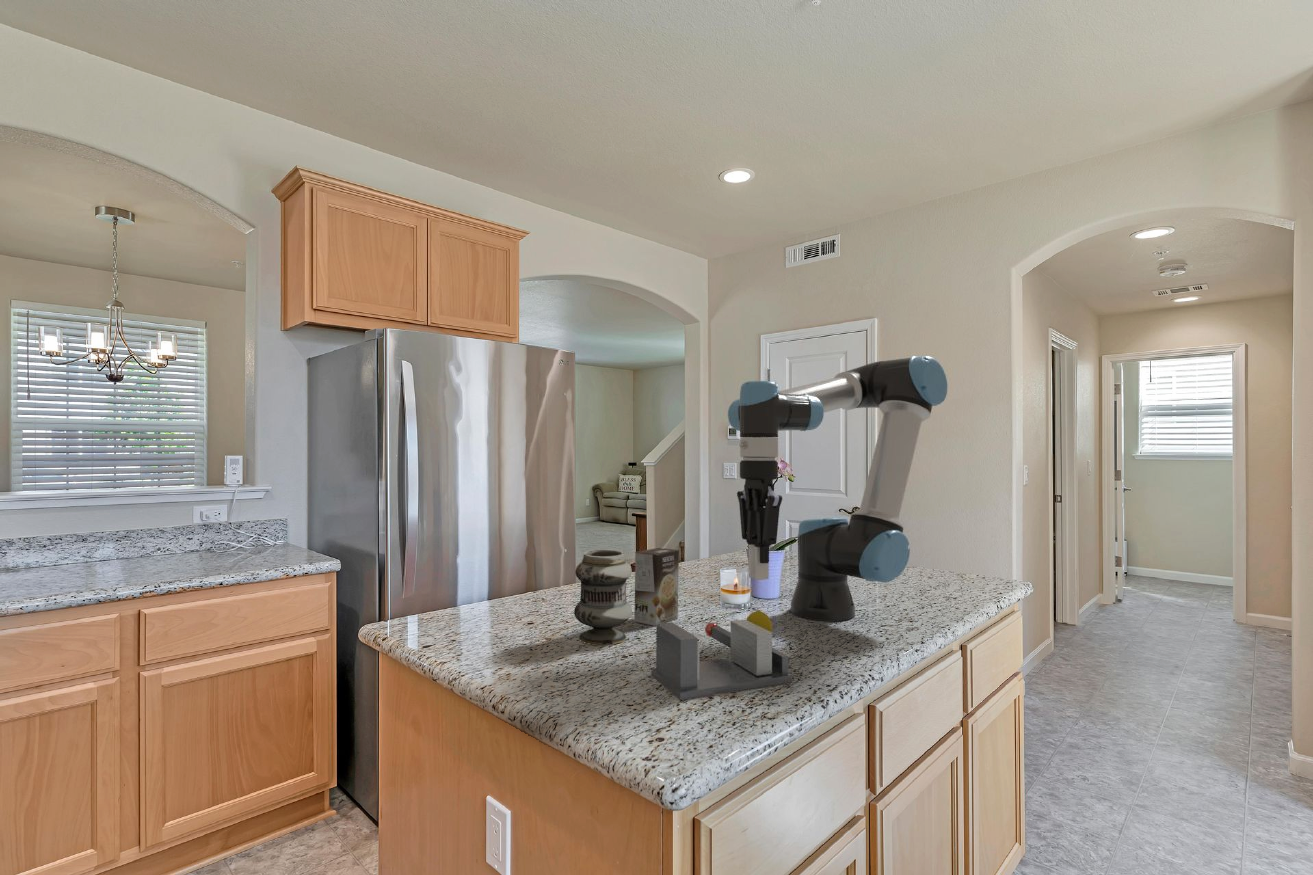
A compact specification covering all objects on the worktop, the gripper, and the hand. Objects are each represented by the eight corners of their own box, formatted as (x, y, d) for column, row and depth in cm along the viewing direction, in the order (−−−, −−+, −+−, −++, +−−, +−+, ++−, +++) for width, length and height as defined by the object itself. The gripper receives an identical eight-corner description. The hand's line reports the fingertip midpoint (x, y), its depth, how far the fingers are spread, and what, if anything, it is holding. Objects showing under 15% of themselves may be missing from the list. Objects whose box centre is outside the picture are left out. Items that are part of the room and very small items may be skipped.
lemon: (755, 644, 132) (755, 605, 132) (778, 650, 128) (778, 610, 128) (738, 650, 128) (738, 609, 128) (761, 656, 124) (761, 615, 124)
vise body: (754, 660, 121) (754, 611, 122) (791, 682, 110) (791, 628, 111) (651, 675, 113) (651, 622, 113) (680, 700, 102) (680, 641, 102)
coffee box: (656, 626, 144) (656, 554, 144) (633, 622, 148) (634, 551, 148) (679, 618, 151) (679, 549, 152) (656, 613, 155) (657, 546, 155)
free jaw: (715, 640, 129) (715, 605, 130) (771, 673, 111) (772, 632, 111) (702, 641, 128) (702, 606, 128) (756, 675, 109) (757, 634, 110)
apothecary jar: (583, 650, 127) (584, 558, 127) (567, 633, 138) (567, 549, 138) (640, 643, 132) (641, 554, 132) (620, 627, 143) (620, 546, 143)
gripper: (724, 458, 133) (724, 572, 133) (762, 460, 120) (762, 587, 120) (755, 458, 136) (755, 570, 136) (796, 460, 123) (796, 583, 123)
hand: (758, 577), depth 128 cm, fingers open, 1 cm apart
